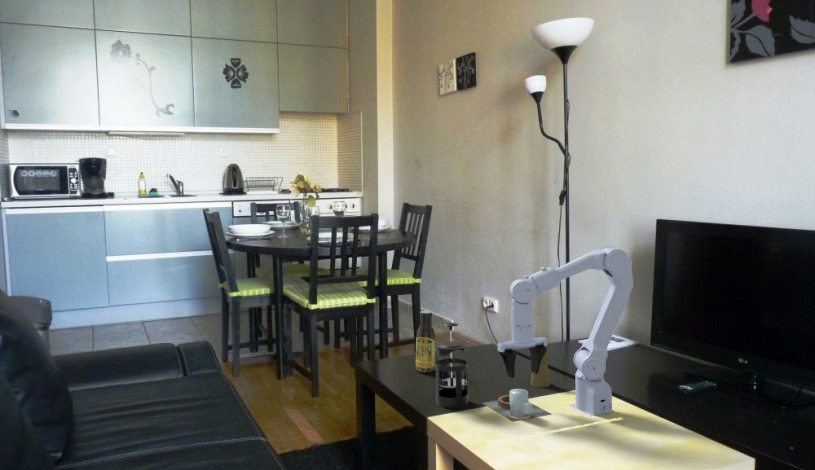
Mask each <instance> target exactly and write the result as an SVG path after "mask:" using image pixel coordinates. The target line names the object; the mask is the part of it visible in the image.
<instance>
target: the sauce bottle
mask: <svg viewBox="0 0 815 470" xmlns="http://www.w3.org/2000/svg"><path fill="white" fill-rule="evenodd" d="M419 317H420V321H419V322H420V323H419V327H418V329H417V330H416V338H415V339H416V340H415V341H416V342H415V369H416V371H417V372H419V373H422V374H423V373H424V374H425V373H431V372H433V371H434V370H435V362H436V360H435V358H436V355H435V353H436V347H435V345H436V338H435V337H436V332H435V329H434V328H433V326H432V325H433V324H432V317H433V311H431V310H422V311H419Z"/></svg>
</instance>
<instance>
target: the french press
mask: <svg viewBox="0 0 815 470" xmlns="http://www.w3.org/2000/svg"><path fill="white" fill-rule="evenodd" d="M443 326H444V327H448V330H449V335H450V337H449V340H450V341H443V342H438V343H435V349H436V354H437V355H439V356H443V357H441V358H439V359H438V360H435V366H434V369H435V379H436V380H435V383H436V384H435V386H436V388H435V390H436V391H435V401H436V402H435V403H436V405H437V406H438V407H442V408H447V409H459V408H463V407H466V406H468V404H469V390H468V367H469V366H468V363H469V362H468V361H467V360H466V359H463V358H456V357H455V358H453V352H455V351H462V352H463V353H464V354H466V353H467V352H466V349H467V347H468V343H466V342H462V341H453V339H452V335H453V334H452V331H453V327H457V326H459V324H458V323H456V322H445V323H443ZM448 355H450V357H449V358H445V357H446V356H448ZM449 364H450V366H449ZM453 364H460V365H458V366H453ZM462 371H463V374H462ZM449 372H450V377H449ZM453 372H455V377H453ZM462 375H463V376H462Z"/></svg>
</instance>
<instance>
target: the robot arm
mask: <svg viewBox="0 0 815 470" xmlns="http://www.w3.org/2000/svg"><path fill="white" fill-rule="evenodd" d="M632 267H633V261H632V260H631V258H630V257H629V255H628V253H627V252H626V251H624V250H622V249H620V248H615V247H612V246H608V245H606V246H602V247H601V248H599V249H594V250H592V251H589V252H588V253H585V254H583V255H581V256H579V257H577V258H575V259H574V260H571V261H569V262H566V263H565V264H563V265H561V266H559V267H557V268H553V267H551V266H548V267H546V266H542V267H540V268H539V269H540V270H539V271H537V272H535V273H532V274H530V275H528V274H526V275H523V278H524V279H522V278H518V279H516V280H514V281H512V283H511V284H510V286H509V289H508V293H509V295H510V297H511V303H510V304H511V307H510V310H511V311H510V312H511V313H510V314H511V317H510V318H511V320H510V321H511V340H507V341H504V342H498V343H497V344H496V347H497V351H498V353H499V355H500V357H501V359H502V361H503V363H504V367H505V370H506V373H507V376H508V377H509V378H511V379H514V378H515V373H516V372H515V369H516V368H515V367H516V365H515V364H516V359H517V353H515V352H514V350H515V351H516V350H520V349H521V350H522V349H527V348H528V350H529V354H530V367H531V373H532V372H533V373H535V374H538V372H539V368H540V364H541V361H542V359H543V356H544V355H545V353H546V351H547V352H548V350H547V349H548V348H547V347H546V346H548V338H547V337H544V336H543V337H534V308H533V300H534V299H535V297H536V296H537V297H538V296H540V295H542V294H545V293H547V292H549V291H552V290H553V289H556V288H559V286H560V284H561V282H562V281H563V280H565V279H567V278H570V277H573V276H575V275H577V274H580V273H582V272H585V271H588V270H597V271H603V272H604V274H606V276H607V279H608V281H609V283H610V287H609V290H608V292H607V294H606V297H605V299H604V301H603V304H602V306H601V309H600V311H599V313H598V316H597V317H596V320H595V322H594V325H593V328H592V329H591V332H590V334H589V336H588V338H587V339H586V340H585V341H584V342H583V343H582V345H581V347H580V348H579V349H577V351H576V352H575V353H574V356H573V364H574V366H575V367H576V369H577V370H576V372H575V374H574V375H575V378H574V379H575V381H574V382H575V403H572V404H568V406H569V407H571V408H573V409H575V410H578V411H579V412H581V413H583V414H585V415H588V416H590V417H593V416H599V415H604V414H609V413H615V410H614V409H613V389H612V387H611V386H610V384H609V383H607V381H606V380H605V379H604V375H605V374H606V369H607V366H606V365H607V364H606V363H607V359H608V356H609V355H608V346H609V344H610V341H611V339H612V337H613V335H614V332H615V330H616V328H617V326H618V323H619V320H620V318H621V315H622V314H623V312H624V309H625V307H626V304H627V302H628V300H629V298H630V294H631V293H632V290H633V288H634V277H633V271H632Z"/></svg>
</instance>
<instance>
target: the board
mask: <svg viewBox="0 0 815 470" xmlns="http://www.w3.org/2000/svg"><path fill="white" fill-rule="evenodd" d="M530 403H531V404H532V413H531V414H528V416H526V417H513V416H511V415H510V394H505V395H504V394H503V395H501V396H499V397H498V398H497V399H495V400H490V401H484V402H482V404H483V405H484V406H486V407H487V408H489V409H490V410H492V411H494V412H495V413H497V414H499V415H501V416H502V417H504V418H506V419H508V420H509V421H511V422H518V421H523V420H530V419H533V418H540V417H544V416H546V417H547V416H549V415H550V416H551V415H552V413H551V412H549V411H547V410H545V409H543V408H541V407H539V406H537V405H535V404H534V403H532V402H530Z"/></svg>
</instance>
